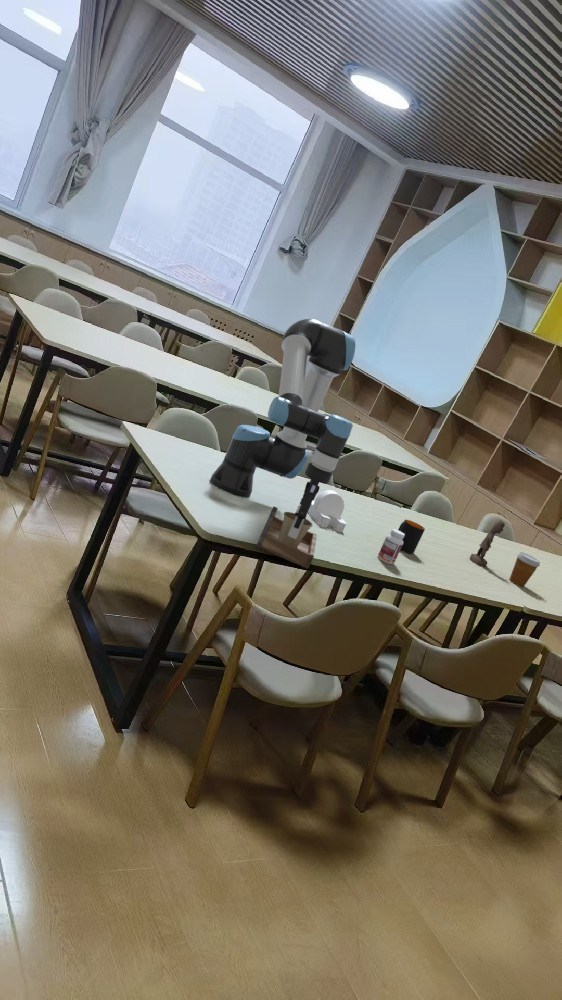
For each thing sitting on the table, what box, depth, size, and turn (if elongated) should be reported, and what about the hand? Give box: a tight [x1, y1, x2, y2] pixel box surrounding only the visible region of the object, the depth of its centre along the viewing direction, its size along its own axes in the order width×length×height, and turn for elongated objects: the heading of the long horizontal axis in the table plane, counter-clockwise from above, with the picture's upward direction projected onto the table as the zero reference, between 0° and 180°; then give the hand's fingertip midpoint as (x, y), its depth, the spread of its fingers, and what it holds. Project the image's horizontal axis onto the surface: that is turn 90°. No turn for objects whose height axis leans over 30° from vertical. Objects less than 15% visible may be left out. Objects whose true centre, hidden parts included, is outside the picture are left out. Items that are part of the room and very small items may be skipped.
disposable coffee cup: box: [509, 552, 541, 588], centre depth 307 cm, size 10×10×12 cm
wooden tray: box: [255, 506, 318, 570], centre depth 227 cm, size 25×16×7 cm, turn 174°
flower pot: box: [278, 511, 314, 548], centre depth 226 cm, size 9×9×9 cm
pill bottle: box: [377, 528, 405, 565], centre depth 258 cm, size 6×6×11 cm
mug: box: [397, 519, 426, 555], centre depth 286 cm, size 8×12×10 cm
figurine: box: [469, 519, 506, 567], centre depth 314 cm, size 9×8×20 cm
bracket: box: [307, 489, 347, 534], centre depth 277 cm, size 19×10×11 cm, turn 16°
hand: (293, 531), depth 226 cm, fingers open, 13 cm apart
